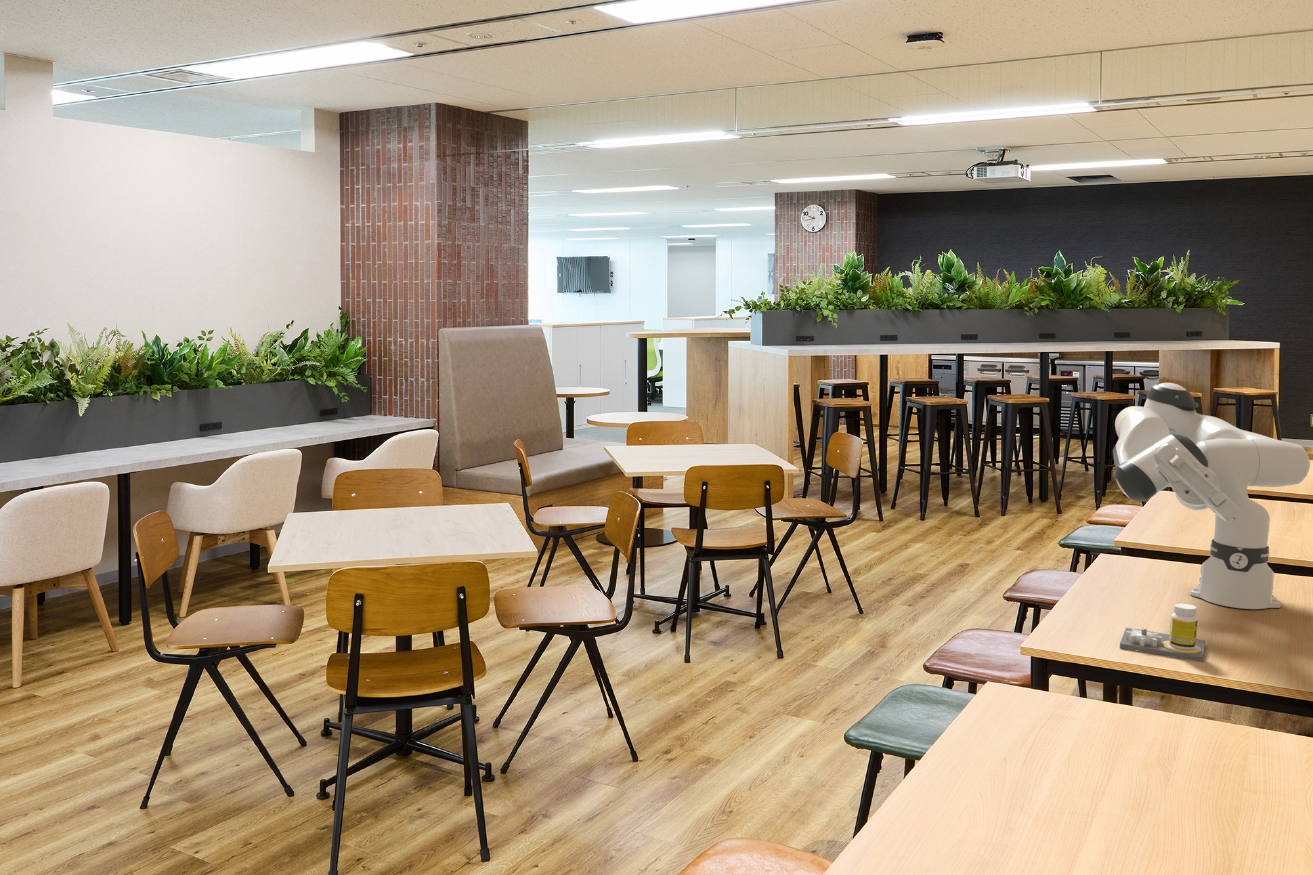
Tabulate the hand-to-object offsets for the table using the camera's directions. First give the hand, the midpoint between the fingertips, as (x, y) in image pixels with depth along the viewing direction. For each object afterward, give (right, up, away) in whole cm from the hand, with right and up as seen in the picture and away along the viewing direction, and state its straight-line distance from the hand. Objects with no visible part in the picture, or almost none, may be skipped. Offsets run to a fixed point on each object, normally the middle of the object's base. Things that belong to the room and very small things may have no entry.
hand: (1196, 477), depth 211 cm
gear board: (-8, -35, -2) cm, 36 cm away
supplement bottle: (-6, -34, -6) cm, 35 cm away
